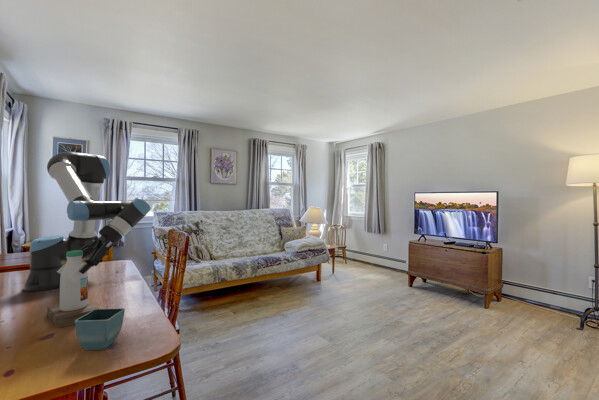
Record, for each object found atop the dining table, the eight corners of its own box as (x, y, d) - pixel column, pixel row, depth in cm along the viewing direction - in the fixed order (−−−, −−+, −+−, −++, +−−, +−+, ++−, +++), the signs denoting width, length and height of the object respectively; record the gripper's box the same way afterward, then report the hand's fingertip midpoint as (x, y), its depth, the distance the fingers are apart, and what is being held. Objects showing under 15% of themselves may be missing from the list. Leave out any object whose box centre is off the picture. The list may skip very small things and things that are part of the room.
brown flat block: (47, 315, 100) (47, 306, 100) (84, 306, 109) (85, 298, 109) (59, 328, 90) (59, 318, 90) (99, 317, 99) (99, 308, 99)
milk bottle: (72, 312, 95) (72, 253, 95) (53, 311, 97) (54, 252, 97) (93, 304, 103) (93, 249, 103) (75, 303, 104) (76, 248, 104)
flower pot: (94, 338, 84) (94, 308, 84) (125, 337, 84) (125, 307, 85) (72, 354, 75) (73, 320, 75) (107, 353, 76) (108, 320, 76)
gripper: (136, 239, 104) (86, 290, 92) (110, 234, 120) (65, 277, 108) (120, 226, 100) (65, 277, 88) (96, 222, 115) (47, 265, 104)
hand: (65, 277), depth 98 cm, fingers open, 13 cm apart
